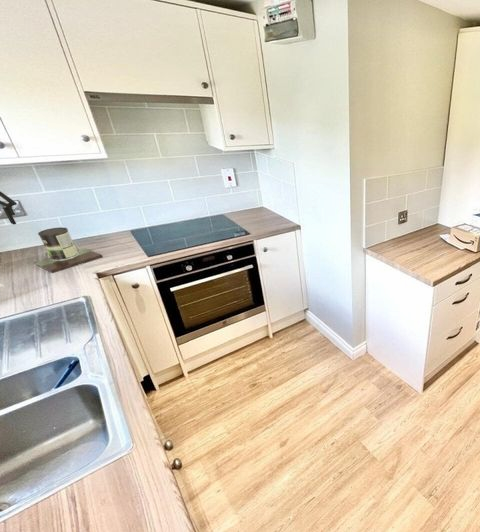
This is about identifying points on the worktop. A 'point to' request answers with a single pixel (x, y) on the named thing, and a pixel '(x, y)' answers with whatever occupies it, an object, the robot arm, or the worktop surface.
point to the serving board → (69, 261)
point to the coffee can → (58, 244)
